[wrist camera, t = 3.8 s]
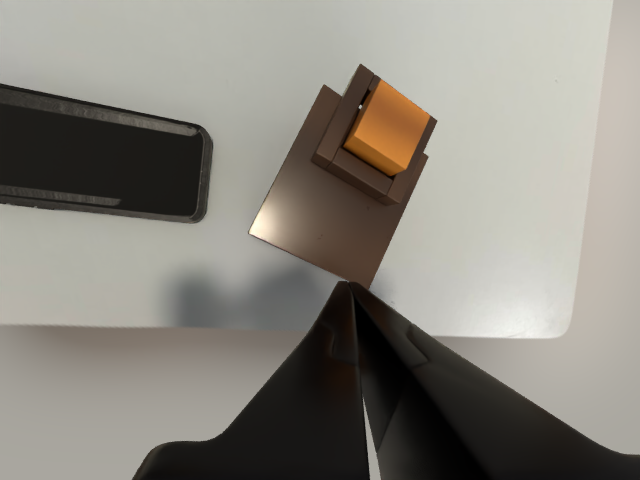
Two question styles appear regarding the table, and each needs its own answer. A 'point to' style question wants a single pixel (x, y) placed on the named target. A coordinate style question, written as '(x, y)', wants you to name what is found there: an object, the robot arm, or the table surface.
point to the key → (386, 130)
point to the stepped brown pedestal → (337, 191)
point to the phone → (100, 158)
